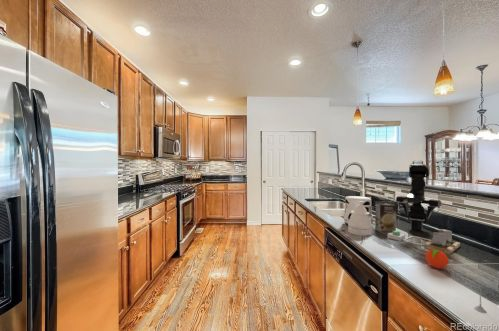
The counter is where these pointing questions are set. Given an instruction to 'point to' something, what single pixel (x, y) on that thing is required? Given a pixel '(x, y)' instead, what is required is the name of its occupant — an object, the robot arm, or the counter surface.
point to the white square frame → (400, 237)
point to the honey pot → (360, 221)
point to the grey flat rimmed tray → (415, 243)
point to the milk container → (353, 202)
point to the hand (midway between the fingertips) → (417, 217)
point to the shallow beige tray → (448, 249)
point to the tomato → (437, 258)
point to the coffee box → (385, 217)
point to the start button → (396, 233)
